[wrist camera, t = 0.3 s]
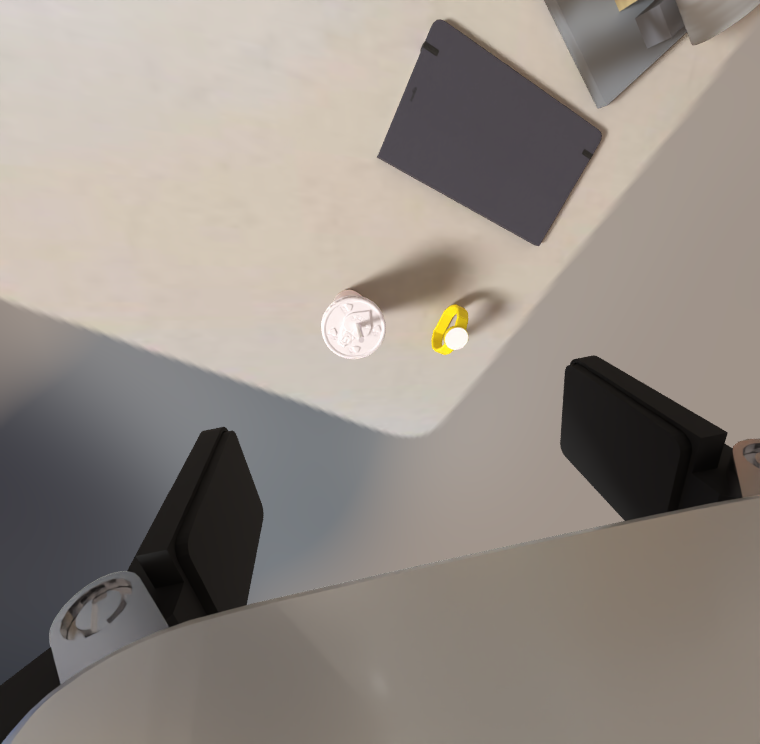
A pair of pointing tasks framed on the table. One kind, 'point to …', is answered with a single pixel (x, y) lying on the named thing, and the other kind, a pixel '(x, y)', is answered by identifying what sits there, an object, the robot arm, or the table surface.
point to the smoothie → (353, 325)
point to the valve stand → (635, 34)
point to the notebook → (487, 136)
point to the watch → (451, 331)
